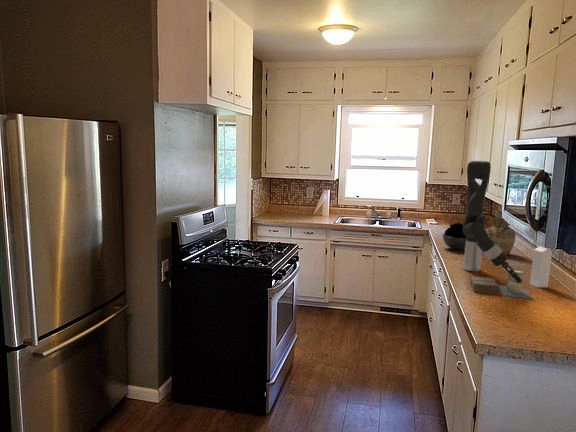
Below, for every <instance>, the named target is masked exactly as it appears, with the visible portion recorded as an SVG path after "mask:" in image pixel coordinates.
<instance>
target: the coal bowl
mask: <svg viewBox="0 0 576 432" xmlns="http://www.w3.org/2000/svg"><path fill="white" fill-rule="evenodd" d="M463 225H464V223H458V222H457V223H454V224H452V223H450V225H449V227H448V228H447V229H446V230H445V231H444V233H443V234H442V239H443V242H444V244H445V245H446V246H447V247H448V248H449V249H452V250H456V251H462V250H465V245H466V236H465V235H464V233H463Z"/></svg>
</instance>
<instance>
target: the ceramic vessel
mask: <svg viewBox="0 0 576 432" xmlns="http://www.w3.org/2000/svg"><path fill="white" fill-rule="evenodd" d="M502 211H503V210H494V216H495V218H493V219H492V222H491V223H492V226H490V227H488V228H487V229H485V230H486V232H487V234H488V236H489V237H490V238H491V239H492V241H493V242H494V243H495V244H496V245H498V246H499V247H500V248H501V250H502V251H503V252H504V253H505V254H506V255H507V256H508V255H510V253H511V252H512V250H513V248H514V245H515V241H516V232H515V230H514V229H513V228H511V227H509V226H511V225H509V224H508V223H507V222H506V221H505V220H504V219H503V218H502Z"/></svg>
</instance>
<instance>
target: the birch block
mask: <svg viewBox="0 0 576 432" xmlns="http://www.w3.org/2000/svg"><path fill="white" fill-rule="evenodd" d="M514 272H515V273H517V275H518V276H519V277H520V279H521V280H522V281H521V282H520V283H518V282H517V281H516V280H515V279H514V278H513V277H512V276H511V275H510V274H508V273H507V276H506V285H505V286H506V290H507V291H508V292H517V293H521V290H522V287H523V281H524V280H523V279H524V272H523V271H522V270H514ZM514 272H513V273H511V274H512V275H513V274H514Z"/></svg>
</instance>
